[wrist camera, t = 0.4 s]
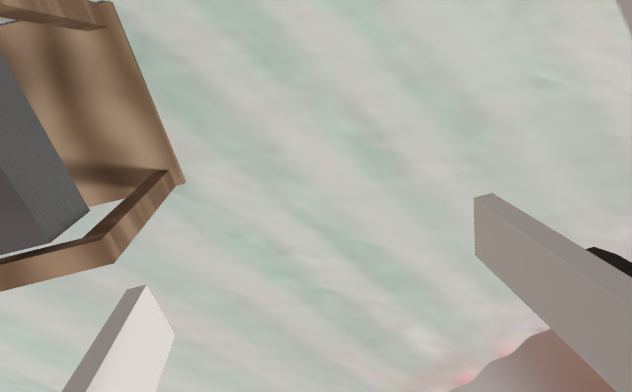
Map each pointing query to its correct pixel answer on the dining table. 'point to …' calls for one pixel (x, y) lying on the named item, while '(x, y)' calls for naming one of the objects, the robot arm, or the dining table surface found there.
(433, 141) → the dining table surface
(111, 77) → the frame
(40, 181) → the trapdoor
